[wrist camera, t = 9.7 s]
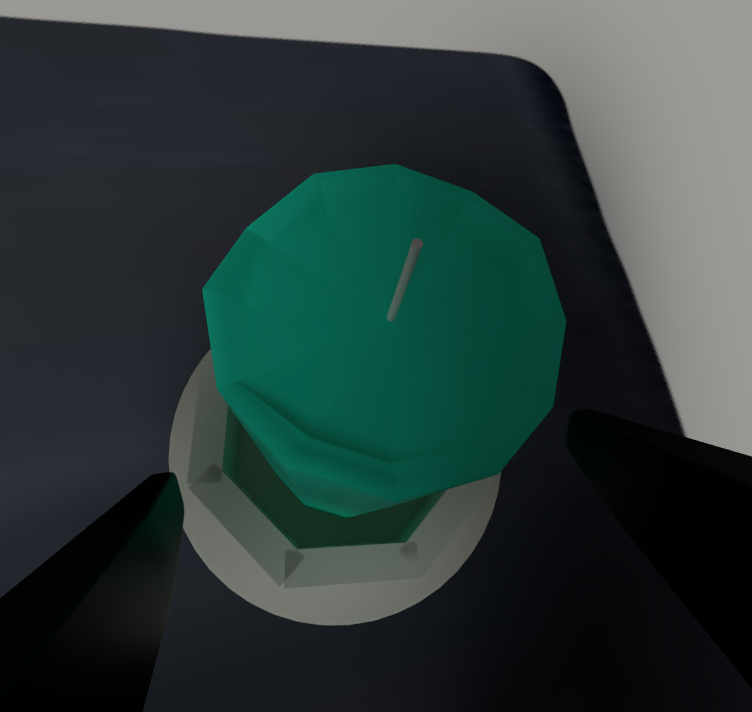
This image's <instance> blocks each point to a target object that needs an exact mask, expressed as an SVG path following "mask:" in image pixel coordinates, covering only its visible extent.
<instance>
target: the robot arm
mask: <svg viewBox="0 0 752 712" xmlns="http://www.w3.org/2000/svg"><path fill="white" fill-rule="evenodd" d="M566 447H567V449H568V451H569V453H570V454H571V456H572V457H573V459H574V460H575V462H576V463H577V465H578V466H579V468H580V469H581V471H582V472H583V474H584V475H585V477H586V478H587V480H588V481H589V483H590V484H591V486H592V487H593V489H594V490H595V492H596V493H597V495H598V496H599V498H600V499H601V501H602V502H603V503H604V505H605V506H606V507H607V509H608V510H609V511H610V512H611V514H612V515H613V516H614V517H615V519H616V520H617V521H618V522H619V524H620V525H621V526H622V527H623V529H624V530H625V531H626V532H627V534H628V535H629V536H630V537H631V539H632V540H633V541H634V542H635V544H636V545H637V546H638V547H639V549H640V550H641V551H642V552H643V554H644V555H645V556H646V557H647V558H648V560H649V561H650V562H651V563H652V565H653V566H654V567H655V568H656V570H657V571H658V572H659V573H660V575H661V576H662V577H663V578H664V580H665V581H666V582H667V583H668V585H669V586H670V587H671V588H672V590H673V591H674V592H675V593H676V595H677V596H678V597H679V598H680V599H681V601H682V602H683V603H684V604H685V606H686V607H687V608H688V609H689V611H690V612H691V613H692V614H693V616H694V617H695V618H696V619H697V621H698V622H699V623H700V624H701V626H702V627H703V628H704V629H705V631H706V632H707V633H708V634H709V636H710V637H711V638H712V639H713V641H714V642H715V643H716V644H717V645H718V647H719V648H720V649H721V650H722V652H723V653H724V654H725V655H726V657H727V658H728V659H729V660H730V662H731V663H732V664H733V665H734V667H735V668H736V669H737V670H738V672H739V673H740V674H741V675H742V677H743V678H744V679H745V680H746V682H747V683H748V684H749V685H750V687H751V688H752V457H751V456H748V455H745V454H741V453H738V452H734V451H731V450H728V449H724V448H721V447H717V446H714V445H710V444H707V443H704V442H700V441H697V440H693V439H690V438H686V437H683V436H680V435H676V434H673V433H669V432H666V431H663V430H659V429H656V428H652V427H649V426H645V425H642V424H639V423H635V422H632V421H628V420H625V419H621V418H618V417H615V416H611V415H608V414H604V413H601V412H598V411H594V410H590V409H585V410H579V411H574V412H573V413H572V414H571V415H570V418H569V423H568V429H567V435H566ZM183 521H184V502H183V499H182V495H181V491H180V487H179V484H178V480H177V477H176V475H175V473H173V472H166V473H159V474H153V475H151V476H149V477H148V478H147V479H146V480H144V481H143V482H142V483H141V484H140V485H138V486H137V487H136V488H135V489H133V490H132V491H131V492H130V493H129V494H127V495H126V496H125V497H124V498H122V499H121V500H120V501H119V502H118V503H116V504H115V505H114V506H113V507H111V508H110V509H109V510H108V511H107V512H105V513H104V514H103V515H102V516H100V517H99V518H98V519H97V520H95V521H94V522H93V523H92V524H91V525H89V526H88V527H87V528H86V529H84V530H83V531H82V532H81V533H80V534H78V535H77V536H76V537H75V538H73V539H72V540H71V541H70V542H69V543H67V544H66V545H65V546H64V547H62V548H61V549H60V550H59V551H58V552H56V553H55V554H54V555H53V556H51V557H50V558H49V559H48V560H47V561H45V562H44V563H43V564H42V565H40V566H39V567H38V568H37V569H36V570H34V571H33V572H32V573H31V574H29V575H28V576H27V577H26V578H25V579H23V580H22V581H21V582H20V583H18V584H17V585H16V586H15V587H13V588H12V589H11V590H10V591H9V592H7V593H6V594H5V595H4V596H2V597H1V598H0V712H143V709H144V705H145V701H146V697H147V693H148V689H149V685H150V681H151V677H152V674H153V670H154V666H155V662H156V658H157V654H158V650H159V646H160V642H161V639H162V635H163V631H164V627H165V623H166V619H167V615H168V611H169V607H170V604H171V599H172V595H173V591H174V585H175V579H176V572H177V565H178V558H179V551H180V543H181V536H182V529H183Z"/></svg>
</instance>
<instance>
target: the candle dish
mask: <svg viewBox="0 0 752 712" xmlns="http://www.w3.org/2000/svg"><path fill="white" fill-rule="evenodd" d="M169 471H170V472H173V473H175V475H176V477H177V480H178V484H179V487H180V491H181V495H182V499H183V502H184V521H183V529H184V531H185V532H186V534H187V536H188V538H189V540H190V541H191V543H192V545H193V547H194V549H195V551H196V552H197V553H198V555H199V556H200V557H201V558H202V560H203V561H204V562H205V564H206V565H207V566H208V568H209V569H210V570H211V571H212V572H213V573H214V574H215V575H216V576H217V577H218V578H219V579H220V580H221V581H222V582H223V583H224V584H225V585H226V586H227V587H228V588H230V589H231V590H232V591H234V592H235V593H237V594H238V595H240V596H241V597H242V598H244V599H245V600H247V601H248V602H250V603H251V604H254V605H256V606H258V607H260V608H262V609H264V610H266V611H268V612H270V613H272V614H275V615H278V616H281V617H284V618H288V619H291V620H294V621H297V622H304V623H311V624H318V625H351V624H357V623H363V622H369V621H374V620H377V619H380V618H383V617H386V616H390V615H393V614H396V613H398V612H400V611H402V610H404V609H406V608H408V607H410V606H412V605H414V604H416V603H418V602H420V601H421V600H423V599H424V598H426V597H427V596H429V595H430V594H431V593H433V592H434V591H436V590H437V589H439V588H440V587H441V586H442V585H443V584H444V583H445V582H446V581H447V580H448V579H449V578H450V577H452V576H453V575H454V574H455V573H456V572H457V571H458V569H459V568H460V567H461V566H462V565H463V563H464V562H465V561H466V560H467V558H468V557H469V556H470V555H471V553H472V552H473V550H474V548H475V547H476V545H477V543H478V542H479V540H480V538H481V537H482V535H483V533H484V531H485V529H486V526H487V524H488V522H489V519H490V517H491V515H492V512H493V508H494V505H495V501H496V498H497V494H498V490H499V483H500V476H501V472H500V473H499V474H498V475H495V476H492V477H488V478H485V479H482V480H478V481H475V482H471V483H468V484H465V485H461V486H458V487H455V488H451V489H448V490H444V491H441V492H438V493H434V494H431V495H427V496H424V497H421V498H417V499H414V500H411V501H407V502H404V503H400V504H397V505H394V506H390V507H387V508H383V509H380V510H376V511H372V512H368V513H365V514H361V515H357V516H353V517H350V518H346V519H343V518H340V517H337V516H334V515H331V514H327V513H324V512H321V511H318V510H315V509H311V508H308V507H305V506H303V504H302V503H301V502H300V501H299V500H298V499H297V497H296V496H295V495H294V494H293V493H292V492H291V490H290V489H289V488H288V487H287V486H286V485H285V483H284V482H283V481H282V480H281V479H280V478H279V476H278V475H277V474H276V473H275V471H274V470H273V468H272V467H271V465H270V464H269V463H268V461H267V460H266V458H265V457H264V455H263V454H262V453H261V451H260V450H259V448H258V447H257V446H256V444H255V443H254V441H253V440H252V438H251V437H250V436H249V434H248V433H247V431H246V430H245V428H244V427H243V426H242V424H241V423H240V421H239V420H238V419H237V417H236V416H235V414H234V413H233V411H232V410H231V409H230V407H229V406H228V404H227V403H226V401H225V400H224V399H223V397H222V396H221V394H220V393H219V391H218V390H217V387H216V380H215V373H214V366H213V359H212V352H211V349H210V350H209V351H208V352H207V354H206V355H205V356H204V357H203V359H202V360H201V362H200V363H199V365H198V366H197V368H196V369H195V370H194V372H193V373H192V375H191V377H190V379H189V381H188V383H187V385H186V387H185V389H184V391H183V393H182V396H181V399H180V401H179V404H178V407H177V410H176V413H175V417H174V421H173V426H172V431H171V435H170V448H169Z"/></svg>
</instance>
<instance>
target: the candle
mask: <svg viewBox="0 0 752 712" xmlns="http://www.w3.org/2000/svg"><path fill="white" fill-rule="evenodd" d="M202 291H203V298H204V304H205V311H206V318H207V325H208V332H209V339H210V345H211V352H212V359H213V366H214V373H215V380H216V387H217V390H218V391H219V393H220V394H221V396H222V397H223V399H224V400H225V401H226V403H227V404H228V406H229V407H230V409H231V410H232V411H233V413H234V414H235V416H236V417H237V419H238V420H239V421H240V423H241V424H242V426H243V427H244V428H245V430H246V431H247V433H248V434H249V436H250V437H251V438H252V440H253V441H254V443H255V444H256V446H257V447H258V448H259V450H260V451H261V453H262V454H263V455H264V457H265V458H266V460H267V461H268V463H269V464H270V465H271V467H272V468H273V470H274V471H275V473H276V474H277V475H278V476H279V478H280V479H281V480H282V481H283V482H284V483H285V485H286V486H287V487H288V488H289V489H290V490H291V492H292V493H293V494H294V495H295V496H296V497H297V499H298V500H299V501H300V502H301V503H302V504H303V506H305V507H308V508H311V509H315V510H318V511H321V512H324V513H327V514H331V515H334V516H337V517H340V518H343V519H346V518H350V517H353V516H357V515H361V514H365V513H368V512H372V511H376V510H380V509H383V508H387V507H390V506H394V505H397V504H400V503H404V502H407V501H411V500H414V499H417V498H421V497H424V496H427V495H431V494H434V493H438V492H441V491H444V490H448V489H451V488H455V487H458V486H461V485H465V484H468V483H471V482H475V481H478V480H482V479H485V478H488V477H492V476H495V475H498V474H499V473H500V472H501V470H502V469H503V468H504V467H505V466H506V464H507V463H508V462H509V461H510V459H511V458H512V457H513V456H514V454H515V453H516V452H517V451H518V450H519V448H520V447H521V446H522V445H523V443H524V442H525V441H526V440H527V438H528V437H529V436H530V435H531V434H532V432H533V431H534V430H535V429H536V427H537V426H538V425H539V424H540V422H541V421H542V420H543V419H544V418H545V416H546V415H547V414H548V413H549V411H550V410H551V409H552V408H553V405H554V399H555V392H556V386H557V379H558V373H559V366H560V360H561V353H562V347H563V340H564V334H565V327H566V318H565V315H564V312H563V309H562V306H561V303H560V300H559V297H558V293H557V290H556V287H555V284H554V281H553V278H552V275H551V272H550V269H549V266H548V263H547V260H546V257H545V253H544V250H543V247H542V244H541V241H540V238H538V237H537V236H535V235H534V234H533V233H531V232H530V231H528V230H527V229H525V228H524V227H523V226H521V225H520V224H518V223H517V222H515V221H514V220H513V219H511V218H510V217H508V216H507V215H505V214H504V213H503V212H501V211H500V210H498V209H497V208H495V207H494V206H492V205H491V204H490V203H488V202H487V201H485V200H484V199H482V198H481V197H480V196H478V195H477V194H475V193H474V192H472V191H469V190H467V189H464V188H461V187H458V186H456V185H453V184H450V183H447V182H444V181H442V180H439V179H436V178H433V177H431V176H428V175H425V174H422V173H419V172H417V171H414V170H411V169H408V168H406V167H403V166H400V165H397V164H391V165H382V166H374V167H366V168H357V169H349V170H341V171H332V172H324V173H316V174H313V175H312V176H310V177H309V178H308V179H307V180H305V181H304V182H303V183H302V184H300V185H299V186H298V187H297V188H295V189H294V190H293V191H292V192H290V193H289V194H288V195H287V196H285V197H284V198H283V199H282V200H281V201H279V202H278V203H277V204H276V205H274V206H273V207H272V208H271V209H269V210H268V211H267V212H266V213H264V214H263V215H262V216H261V217H259V218H258V219H257V220H256V221H254V222H253V223H252V224H251V225H250V226H248V227H247V228H246V229H245V231H244V232H243V233H242V235H241V236H240V237H239V239H238V240H237V242H236V243H235V244H234V246H233V247H232V249H231V250H230V251H229V253H228V254H227V255H226V257H225V258H224V260H223V261H222V262H221V264H220V265H219V267H218V268H217V269H216V271H215V272H214V273H213V275H212V276H211V278H210V279H209V280H208V282H207V283H206V285H205V286H204V287H203V289H202Z"/></svg>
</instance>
